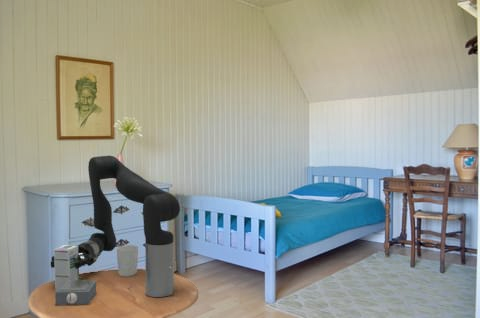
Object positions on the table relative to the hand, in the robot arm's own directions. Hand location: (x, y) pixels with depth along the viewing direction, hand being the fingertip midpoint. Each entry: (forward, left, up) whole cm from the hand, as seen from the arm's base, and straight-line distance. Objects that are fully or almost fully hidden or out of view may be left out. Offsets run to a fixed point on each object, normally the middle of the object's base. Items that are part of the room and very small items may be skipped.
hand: (64, 265), depth 149 cm
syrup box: (0, -2, -9) cm, 9 cm away
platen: (-6, +8, -4) cm, 11 cm away
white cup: (-18, -17, -9) cm, 26 cm away
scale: (-6, +8, -9) cm, 13 cm away
